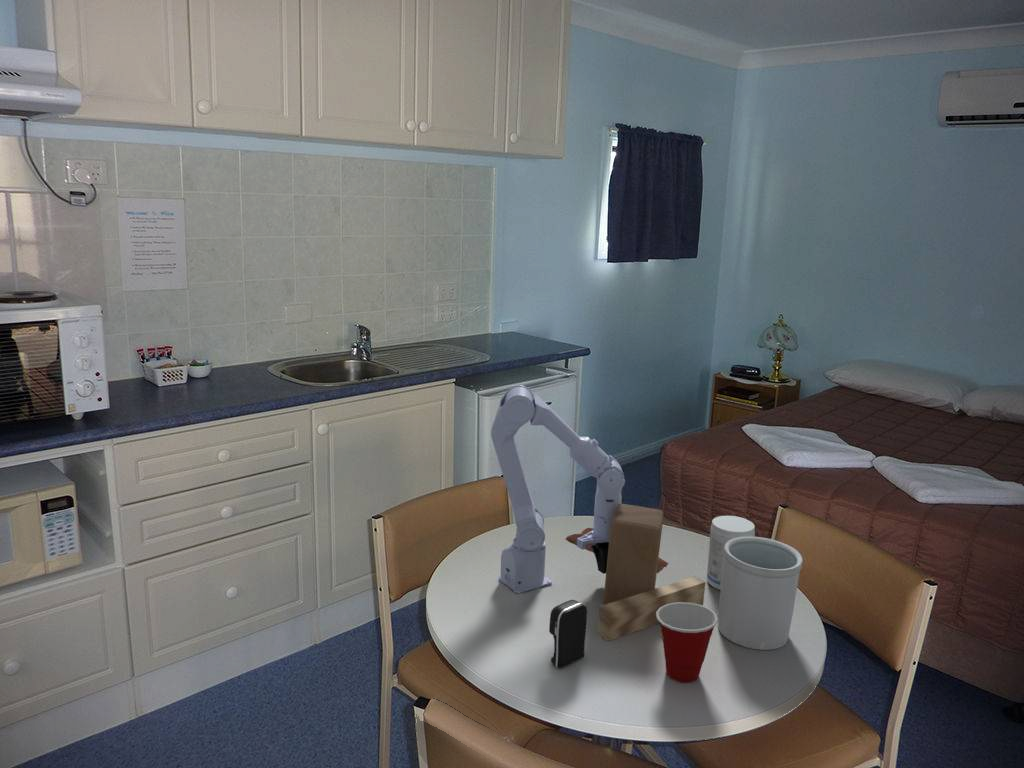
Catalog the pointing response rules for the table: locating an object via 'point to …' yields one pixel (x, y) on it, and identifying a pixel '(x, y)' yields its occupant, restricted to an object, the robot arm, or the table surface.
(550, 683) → the table surface
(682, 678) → the plastic cup
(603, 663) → the table surface
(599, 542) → the robot arm
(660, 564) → the wooden tablet
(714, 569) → the supplement tub
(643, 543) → the block
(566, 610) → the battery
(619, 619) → the board
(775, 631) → the utensil holder
